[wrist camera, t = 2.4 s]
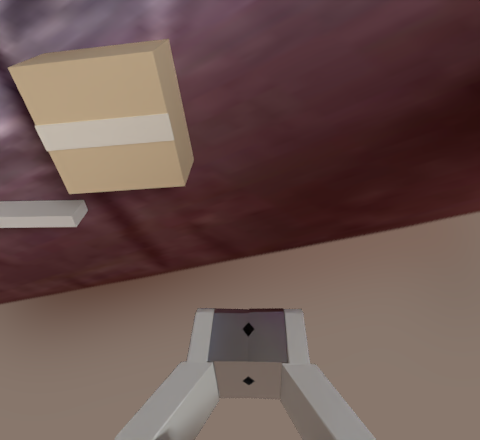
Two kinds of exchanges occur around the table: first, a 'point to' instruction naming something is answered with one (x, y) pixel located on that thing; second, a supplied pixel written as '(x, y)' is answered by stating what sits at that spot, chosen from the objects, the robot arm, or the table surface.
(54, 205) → the light gray u-shaped bracket
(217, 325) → the robot arm
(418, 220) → the table surface
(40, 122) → the carton
